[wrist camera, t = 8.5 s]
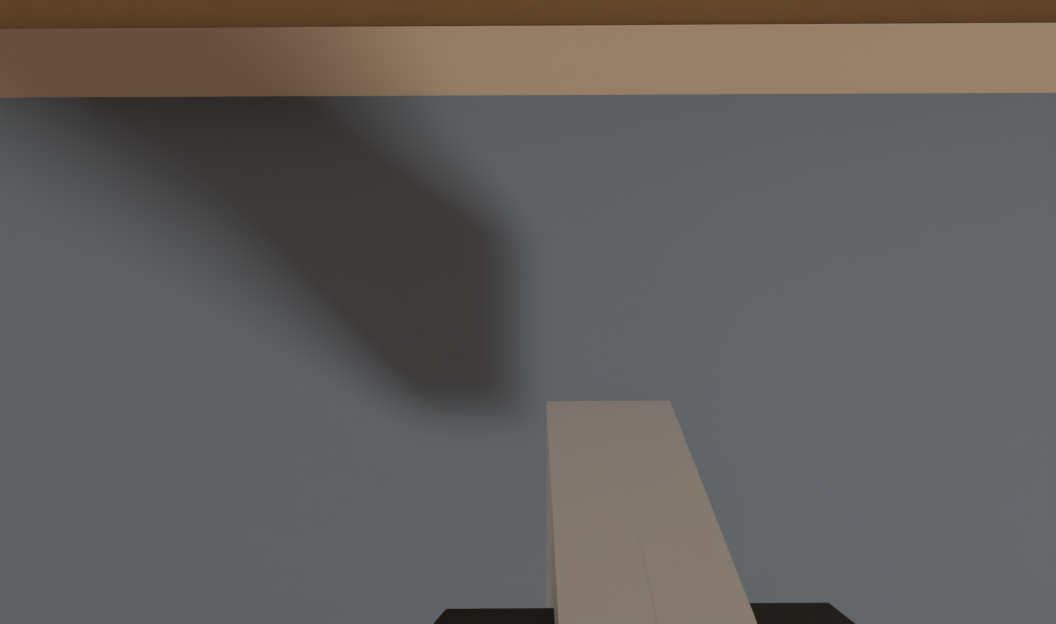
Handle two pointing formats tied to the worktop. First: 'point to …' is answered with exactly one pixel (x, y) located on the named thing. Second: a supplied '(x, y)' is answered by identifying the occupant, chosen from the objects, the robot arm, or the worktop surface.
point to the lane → (521, 310)
